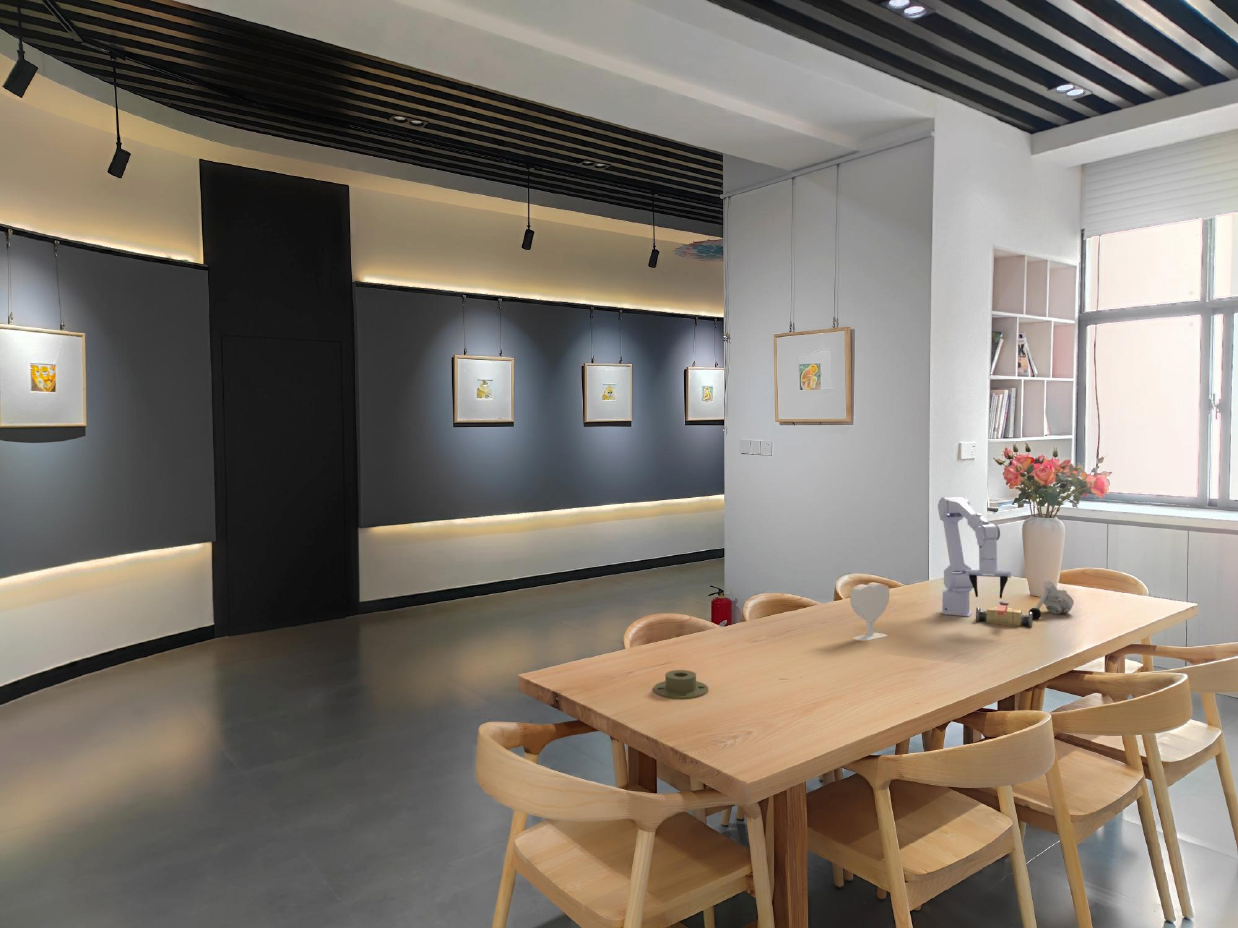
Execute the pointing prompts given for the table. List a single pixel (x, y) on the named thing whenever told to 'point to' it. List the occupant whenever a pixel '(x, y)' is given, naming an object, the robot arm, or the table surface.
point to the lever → (1002, 608)
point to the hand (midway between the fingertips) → (988, 597)
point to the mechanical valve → (1053, 601)
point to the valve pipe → (1004, 617)
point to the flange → (680, 685)
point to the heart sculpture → (869, 606)
